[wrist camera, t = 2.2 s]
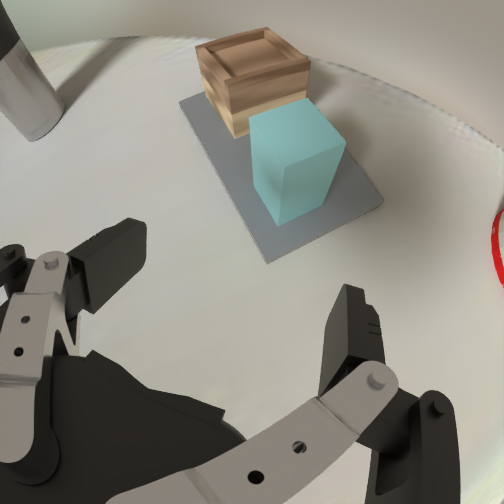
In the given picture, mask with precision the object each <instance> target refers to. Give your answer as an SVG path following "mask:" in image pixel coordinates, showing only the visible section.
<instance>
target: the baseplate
mask: <svg viewBox="0 0 504 504" xmlns="http://www.w3.org/2000/svg"><path fill="white" fill-rule="evenodd" d="M179 104H180V107H181V109H182V111H183V113H184V114H185V116H186V118H187V120H188V122H189V123H190V125H191V127H192V129H193V131H194V132H195V134H196V136H197V138H198V140H199V141H200V143H201V145H202V147H203V149H204V150H205V152H206V154H207V156H208V158H209V160H210V161H211V163H212V165H213V167H214V169H215V170H216V172H217V174H218V176H219V178H220V180H221V181H222V183H223V185H224V187H225V189H226V190H227V192H228V194H229V196H230V198H231V200H232V201H233V203H234V205H235V207H236V209H237V211H238V212H239V214H240V216H241V218H242V220H243V222H244V223H245V225H246V227H247V229H248V231H249V233H250V234H251V236H252V238H253V240H254V242H255V244H256V246H257V247H258V249H259V251H260V253H261V255H262V257H263V258H264V260H265V262H266V264H268V263H270V262H272V261H274V260H276V259H278V258H280V257H282V256H284V255H286V254H288V253H290V252H292V251H294V250H296V249H298V248H300V247H302V246H304V245H306V244H307V243H309V242H311V241H313V240H315V239H317V238H319V237H321V236H323V235H325V234H327V233H329V232H331V231H333V230H334V229H336V228H338V227H340V226H342V225H344V224H346V223H348V222H350V221H352V220H354V219H355V218H357V217H359V216H361V215H363V214H365V213H367V212H369V211H371V210H372V209H374V208H376V207H378V206H380V205H381V204H382V203H383V202H384V200H383V198H382V197H381V195H380V194H379V192H378V191H377V190H376V188H375V187H374V185H373V184H372V183H371V181H370V180H369V178H368V177H367V176H366V174H365V173H364V172H363V170H362V169H361V168H360V166H359V165H358V164H357V162H356V161H355V160H354V158H353V157H352V156H351V155H350V153H349V152H348V151H347V149H346V148H345V149H344V151H343V154H342V157H341V159H340V162H339V164H338V167H337V170H336V172H335V175H334V177H333V180H332V182H331V185H330V187H329V190H328V192H327V195H326V197H325V200H324V202H323V205H322V206H320V207H318V208H316V209H313V210H311V211H309V212H307V213H305V214H303V215H301V216H299V217H297V218H295V219H293V220H291V221H289V222H287V223H285V224H283V225H280V226H277V224H276V223H275V221H274V219H273V217H272V216H271V214H270V212H269V211H268V209H267V207H266V206H265V204H264V202H263V201H262V199H261V197H260V196H259V194H258V192H257V191H256V189H255V187H254V183H253V168H252V154H251V140H250V133H249V134H246V135H244V136H241V137H239V138H237V139H235V138H234V137H233V135H232V134H231V132H230V131H229V129H228V127H227V126H226V124H225V123H224V121H223V120H222V119H221V117H220V116H219V114H218V113H217V111H216V110H215V108H214V107H213V105H212V104H211V102H210V101H209V99H208V98H207V96H206V94H205V91H204V92H202V93H199V94H197V95H194V96H192V97H189V98H187V99H185V100H182V101H180V102H179Z"/></svg>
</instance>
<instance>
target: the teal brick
mask: <svg viewBox="0 0 504 504" xmlns="http://www.w3.org/2000/svg"><path fill="white" fill-rule="evenodd" d="M249 126H250V140H251V154H252V168H253V183H254V187H255V189H256V191H257V192H258V194H259V196H260V197H261V199H262V201H263V202H264V204H265V206H266V207H267V209H268V211H269V212H270V214H271V216H272V217H273V219H274V221H275V223H276V224H277V226H280V225H283V224H285V223H287V222H289V221H291V220H293V219H295V218H297V217H299V216H301V215H303V214H305V213H307V212H309V211H311V210H313V209H316V208H318V207H320V206H322V205H323V202H324V200H325V197H326V195H327V192H328V190H329V187H330V185H331V182H332V180H333V177H334V175H335V172H336V170H337V167H338V164H339V162H340V159H341V157H342V154H343V151H344V149H345V146H346V143H347V142H346V141H345V140H344V138H343V137H342V136H341V135H340V134H339V132H338V131H337V130H336V129H335V128H334V126H333V125H332V124H331V123H330V122H329V121H328V120H327V118H326V117H325V116H324V115H323V114H322V113H321V112H320V111H319V110H318V108H317V107H316V106H315V105H314V104H313V103H312V102H311V101H310V100H309V99H308V98H305V99H302V100H299V101H295V102H292V103H289V104H286V105H283V106H280V107H277V108H274V109H271V110H268V111H265V112H262V113H260V114H257V115H254V116H251V117H249Z"/></svg>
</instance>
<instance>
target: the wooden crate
mask: <svg viewBox="0 0 504 504" xmlns="http://www.w3.org/2000/svg"><path fill="white" fill-rule="evenodd" d="M195 49H196V53H197V58H198V62H199V67H200V71H201V76H202V80H203V85H204V89H205V94H206V96H207V98H208V99H209V101H210V102H211V104H212V105H213V107H214V108H215V110H216V111H217V113H218V114H219V116H220V117H221V119H222V120H223V121H224V123H225V124H226V126H227V127H228V129H229V131H230V132H231V134H232V135H233V137H234V138H235V139H237V138H239V137H241V136H244V135H246V134H249V133H250V126H249V117H251V116H254V115H257V114H260V113H262V112H265V111H268V110H271V109H274V108H277V107H280V106H283V105H286V104H289V103H292V102H295V101H299V100H302V99H305V98H306V92H307V85H308V77H309V70H310V62H311V61H310V60H309V59H307V58H306V57H305V56H304V55H303V54H301V53H300V52H299V51H298V50H297V49H295V48H294V47H293V46H291V45H290V44H289V43H288V42H286V41H285V40H284V39H282V38H281V37H280V36H278V35H277V34H276V33H274V32H273V31H272V30H270V29H269V28H267V27H265V28H260V29H255V30H251V31H247V32H243V33H239V34H235V35H231V36H228V37H224V38H221V39H217V40H214V41H211V42H208V43H204V44H201V45H198V46H195Z"/></svg>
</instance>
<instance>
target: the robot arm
mask: <svg viewBox="0 0 504 504" xmlns="http://www.w3.org/2000/svg"><path fill="white" fill-rule="evenodd" d="M64 109H65V104H64V102H63V101H62V100H61V98H60V97H59V95H58V94H57V92H56V91H55V90H54V88H53V87H52V85H51V84H50V82H49V81H48V79H47V78H46V76H45V75H44V73H43V72H42V71H41V69H40V68H39V66H38V65H37V63H36V62H35V60H34V58H33V57H32V55H31V54H30V52H29V51H28V49H27V48H26V46H25V45H24V43H23V42H22V40H21V39H20V37H19V35H18V33H17V32H16V30H15V28H14V26H13V24H12V22H11V20H10V18H9V17H8V15H7V13H6V11H5V9H4V7H3V5H2V2H1V0H0V111H1V112H2V113H3V114H4V115H5V116H6V117H7V118H8V120H9V121H10V122H11V123H12V124H13V125H14V126H15V127H16V128H17V129H18V130H19V131H20V133H21V134H22V135H23V136H24V137H25V138H26V139H27V140H28V141H35V140H37V139H39V138H41V137H42V136H44V135H45V134H46V133H48V132H49V131H50V130H51V129H52V128H53V127H54V126H55V124H56V123H57V122H58V121H59V119H60V118H61V116H62V114H63V112H64ZM146 235H147V227H146V224H145V222H142V221H139V220H136V219H132V218H126V219H125V220H123V221H121V222H120V223H118V224H117V225H115V226H112V227H109V228H106V229H103V230H102V231H100V232H99V233H97V234H96V236H95V235H94V236H92V237H91V238H89V240H86V241H85V242H83V243H82V244H80V245H79V246H77V247H76V248H74V249H73V250H71V251H70V252H68V253H67V254H65V253H63V252H60V251H52V252H47V253H45V254H43V255H41V256H39V257H38V258H37V259H36V260H34V259H29V258H26V254H25V250H24V247H23V246H22V245H19V244H12V245H8V246H5V247H3V248H2V249H0V287H1V286H3V285H4V288H5V291H6V294H7V297H8V300H7V301H6V302H5V303H3V304H2V305H1V306H0V504H283V503H284V502H286V501H287V500H288V499H290V498H291V497H292V496H294V495H295V494H296V493H298V492H299V491H300V490H301V489H303V488H304V487H305V486H307V485H308V484H309V483H310V482H311V481H313V480H314V479H315V478H316V477H317V476H319V475H320V474H321V473H322V472H323V471H324V470H326V469H327V468H328V467H329V466H330V465H331V464H332V463H333V462H334V461H336V460H337V459H338V458H339V457H340V456H341V455H342V454H343V453H344V452H345V451H346V450H347V449H348V448H349V447H350V446H351V445H352V444H353V443H354V442H355V441H356V442H358V443H360V444H362V445H364V446H366V447H368V448H370V449H372V453H371V462H370V471H369V478H368V485H367V492H366V498H365V504H460V460H459V447H458V437H457V428H456V421H455V414H454V408H453V405H452V403H451V402H450V400H449V399H448V398H447V397H446V396H445V395H444V394H442V393H441V392H439V391H435V390H429V391H427V392H425V393H424V394H423V395H422V396H421V397H420V398H418V397H416V396H414V395H412V394H410V393H408V392H406V391H404V390H402V389H401V388H399V387H398V386H399V385H398V379H397V377H396V375H395V373H394V372H393V371H392V370H391V369H390V368H389V367H388V366H386V364H385V355H384V347H383V340H382V336H381V335H382V333H381V328H380V320H379V315H378V314H377V312H376V311H375V309H374V307H373V306H372V305H368V304H366V302H365V294H364V290H363V289H361V288H358V287H355V286H351V285H348V284H344V285H343V286H342V288H341V290H340V293H339V295H338V297H337V299H336V301H335V304H334V306H333V308H332V310H331V312H330V314H329V317H328V320H327V323H326V326H325V333H324V345H323V356H322V365H321V375H320V383H319V391H318V397H317V396H315V397H313V398H311V399H310V400H308V401H307V402H306V403H304V404H303V405H301V406H300V407H299V408H297V409H296V410H294V411H293V412H291V413H290V414H288V415H287V416H285V417H284V418H282V419H281V420H279V421H278V422H276V423H275V424H273V425H272V426H270V427H268V428H267V429H265V430H264V431H262V432H260V433H259V434H257V435H256V436H254V437H252V438H250V439H249V440H246V439H245V437H244V436H243V435H242V434H241V433H240V432H239V431H238V430H236V429H235V428H234V427H233V426H231V425H230V424H228V423H227V422H225V421H224V420H223V417H224V413H225V410H223V409H220V408H217V407H215V406H212V405H209V404H206V403H204V402H201V401H198V400H196V399H193V398H191V397H188V396H183V395H177V394H172V393H167V392H162V391H157V390H152V389H149V388H147V387H145V386H144V385H143V384H142V383H140V382H139V381H138V380H137V379H136V378H134V377H133V376H132V375H131V374H130V373H128V372H127V371H126V370H125V369H124V368H123V367H122V366H121V365H119V364H117V363H115V362H113V361H112V360H110V359H108V358H106V357H104V356H103V355H101V354H99V353H97V352H96V351H94V350H92V351H91V352H90V353H89V354H88V355H87V357H81V356H79V339H80V322H81V316H80V311H81V310H82V309H84V310H86V311H88V312H90V313H92V314H95V313H96V312H97V311H98V310H99V309H100V308H101V307H102V306H103V305H104V304H105V303H106V302H107V301H108V300H109V299H110V298H111V297H112V296H113V295H114V294H115V293H116V292H117V291H118V290H119V289H120V288H121V287H122V286H124V285H125V284H126V283H127V282H128V281H129V280H130V279H131V278H132V277H133V276H134V275H135V274H136V273H138V272H139V271H140V270H141V269H142V267H143V265H144V263H145V260H146Z"/></svg>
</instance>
